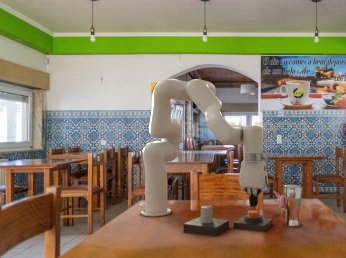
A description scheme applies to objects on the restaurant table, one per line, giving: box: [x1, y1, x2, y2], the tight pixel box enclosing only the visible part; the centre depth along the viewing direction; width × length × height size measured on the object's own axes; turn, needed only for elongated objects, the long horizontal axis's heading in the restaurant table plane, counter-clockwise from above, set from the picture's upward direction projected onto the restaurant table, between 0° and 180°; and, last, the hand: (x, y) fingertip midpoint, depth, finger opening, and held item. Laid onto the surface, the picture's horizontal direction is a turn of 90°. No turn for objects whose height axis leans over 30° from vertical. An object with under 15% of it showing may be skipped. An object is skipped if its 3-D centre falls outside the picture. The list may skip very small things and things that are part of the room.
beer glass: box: [282, 184, 302, 228], centre depth 136 cm, size 7×7×15 cm
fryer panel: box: [183, 216, 230, 237], centre depth 130 cm, size 13×11×3 cm
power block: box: [233, 213, 273, 233], centre depth 134 cm, size 12×10×4 cm
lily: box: [273, 190, 285, 216], centre depth 153 cm, size 12×12×10 cm
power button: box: [247, 210, 260, 218], centre depth 134 cm, size 4×4×2 cm
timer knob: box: [200, 205, 214, 223], centre depth 130 cm, size 4×4×6 cm
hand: (253, 206), depth 134 cm, fingers closed
